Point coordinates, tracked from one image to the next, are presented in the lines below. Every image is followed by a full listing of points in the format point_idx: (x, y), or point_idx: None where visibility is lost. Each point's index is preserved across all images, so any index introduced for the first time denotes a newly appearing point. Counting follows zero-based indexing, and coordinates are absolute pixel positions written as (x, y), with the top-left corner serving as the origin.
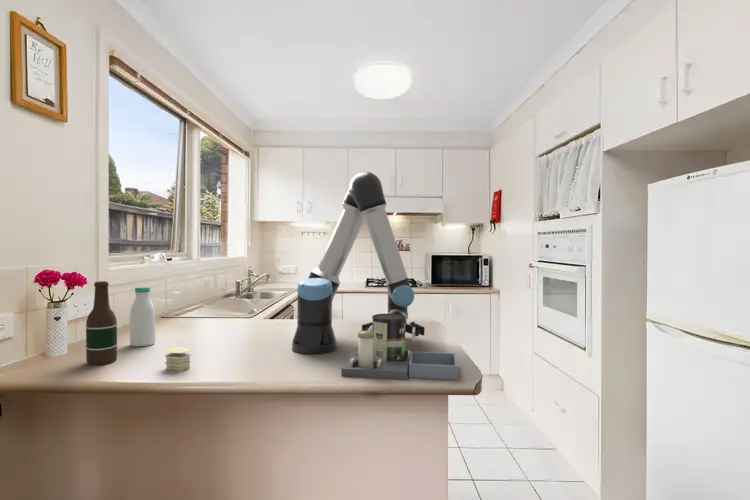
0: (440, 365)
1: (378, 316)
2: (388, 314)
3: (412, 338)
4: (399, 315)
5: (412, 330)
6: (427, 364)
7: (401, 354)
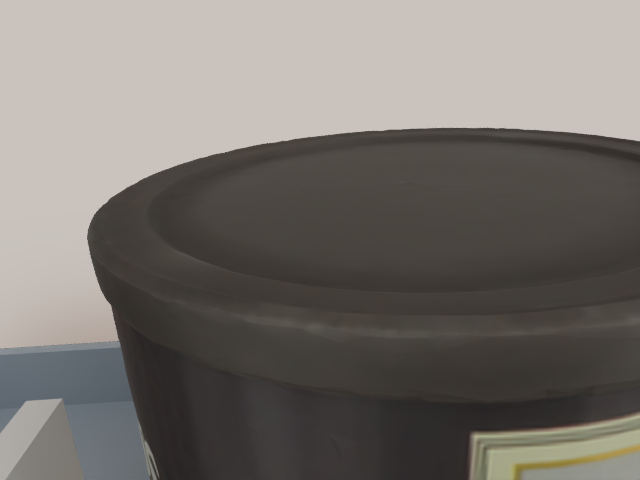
0: (40, 348)
1: (600, 170)
2: (549, 288)
3: (79, 476)
4: (201, 264)
5: (16, 464)
6: (111, 347)
7: None
